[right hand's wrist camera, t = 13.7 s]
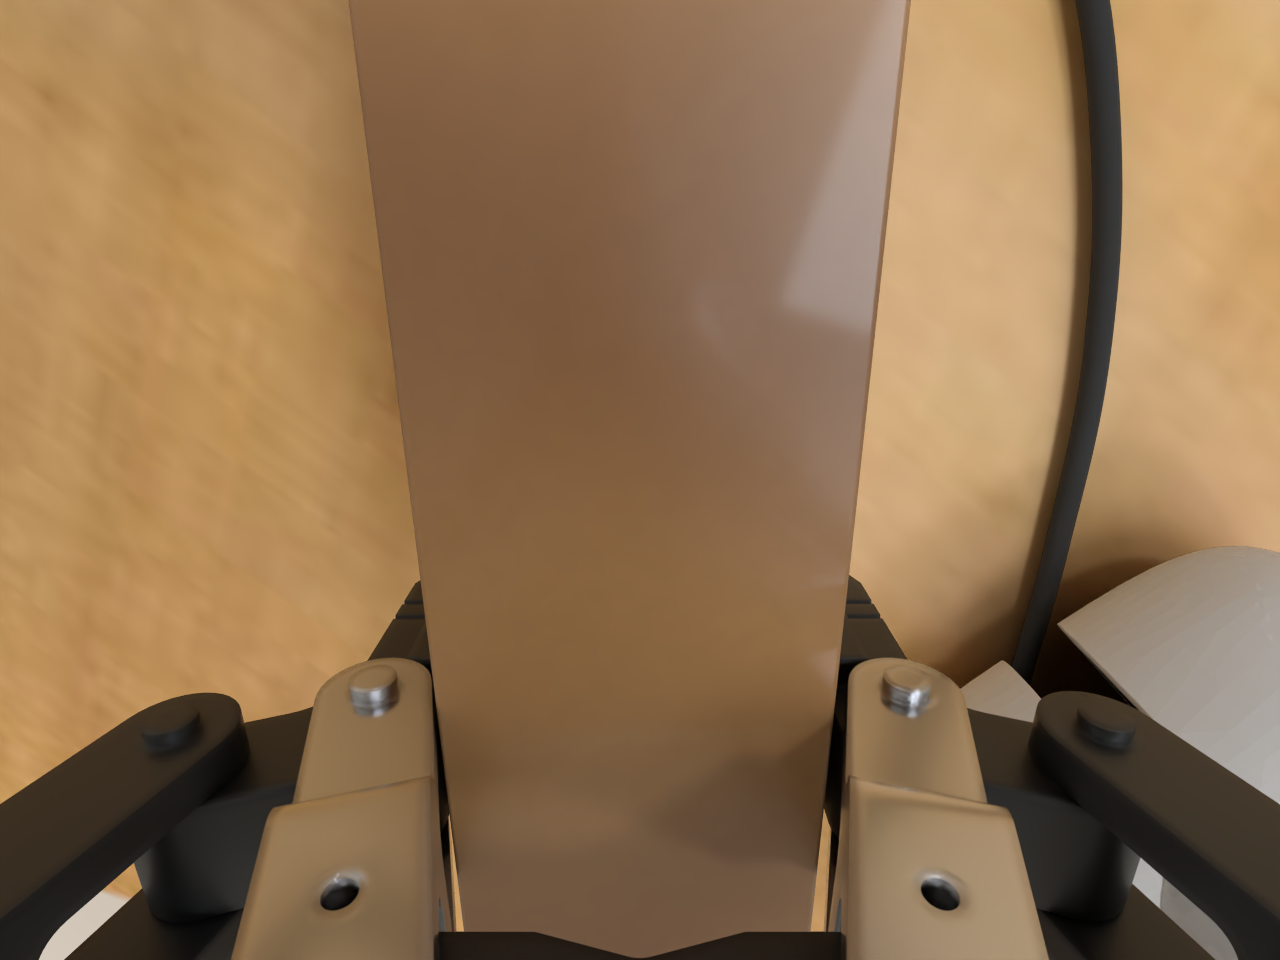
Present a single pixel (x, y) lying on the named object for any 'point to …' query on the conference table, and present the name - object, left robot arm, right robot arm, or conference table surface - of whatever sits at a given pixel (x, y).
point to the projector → (1182, 677)
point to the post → (633, 432)
